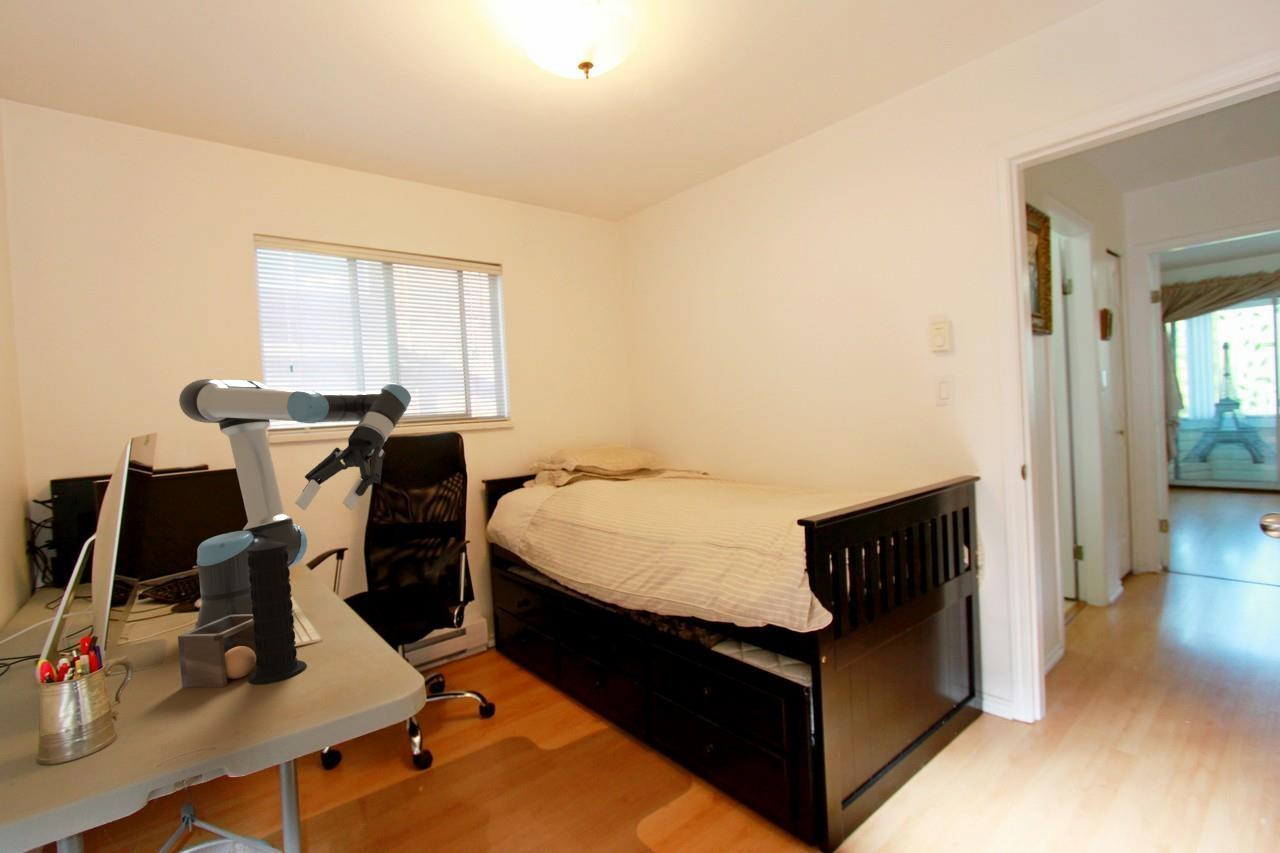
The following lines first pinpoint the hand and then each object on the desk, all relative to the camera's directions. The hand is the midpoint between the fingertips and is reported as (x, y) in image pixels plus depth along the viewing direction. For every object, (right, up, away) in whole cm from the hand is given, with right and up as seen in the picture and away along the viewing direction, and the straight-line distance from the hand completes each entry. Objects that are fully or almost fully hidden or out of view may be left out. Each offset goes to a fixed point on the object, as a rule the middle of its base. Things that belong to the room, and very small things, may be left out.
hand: (323, 506), depth 129 cm
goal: (-13, -32, -11) cm, 37 cm away
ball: (-10, -29, -13) cm, 33 cm away
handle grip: (-2, -32, -12) cm, 34 cm away
